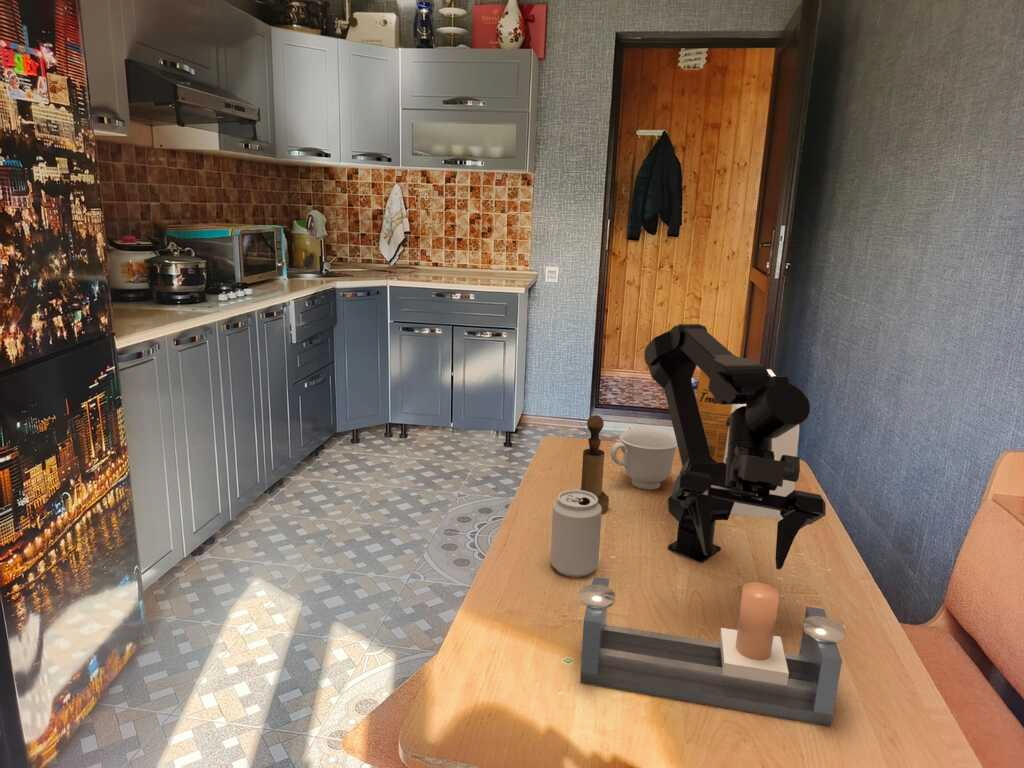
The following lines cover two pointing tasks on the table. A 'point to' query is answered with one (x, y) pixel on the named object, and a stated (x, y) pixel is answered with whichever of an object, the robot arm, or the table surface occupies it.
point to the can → (575, 533)
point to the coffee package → (713, 418)
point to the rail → (708, 665)
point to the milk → (780, 446)
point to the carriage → (755, 638)
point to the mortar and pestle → (594, 463)
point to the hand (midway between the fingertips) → (742, 561)
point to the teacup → (646, 455)
